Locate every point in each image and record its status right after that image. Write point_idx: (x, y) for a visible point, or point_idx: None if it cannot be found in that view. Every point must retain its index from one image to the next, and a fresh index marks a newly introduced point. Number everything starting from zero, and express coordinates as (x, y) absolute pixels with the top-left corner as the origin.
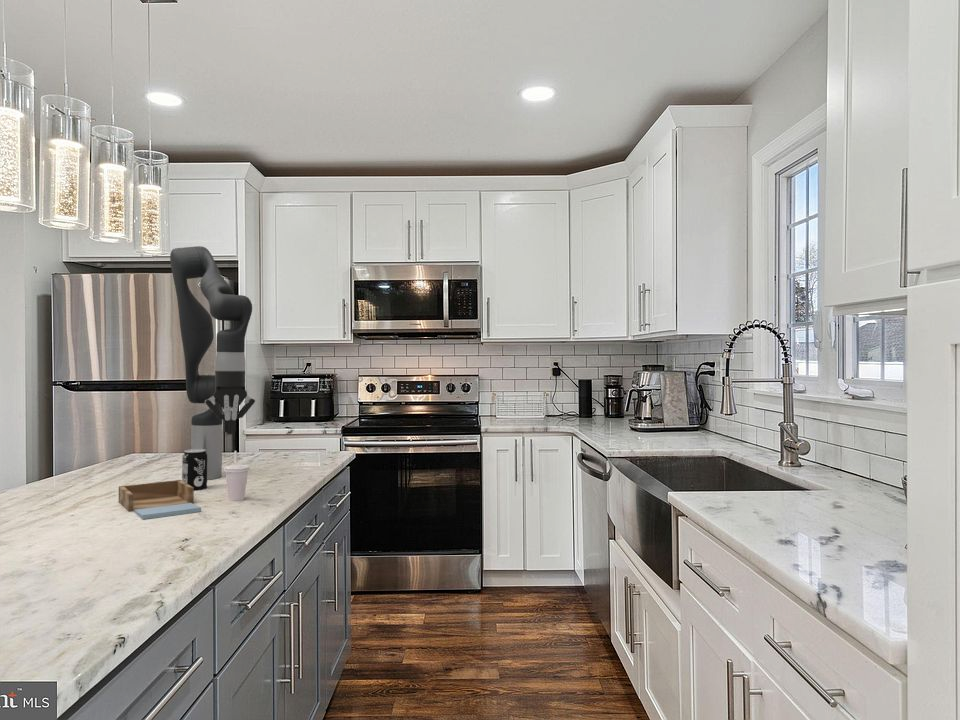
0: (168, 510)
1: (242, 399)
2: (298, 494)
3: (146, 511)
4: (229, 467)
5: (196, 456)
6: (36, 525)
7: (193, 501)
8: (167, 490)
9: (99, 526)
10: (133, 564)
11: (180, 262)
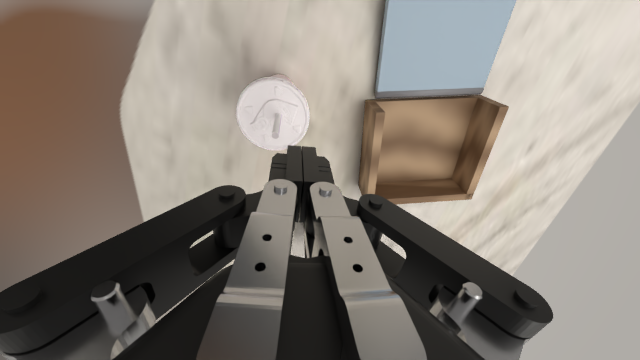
0: (454, 17)
1: (157, 329)
2: (126, 96)
3: (484, 45)
4: (294, 121)
5: None
6: (603, 105)
7: (368, 103)
8: (386, 188)
9: (563, 27)
10: None
11: None
